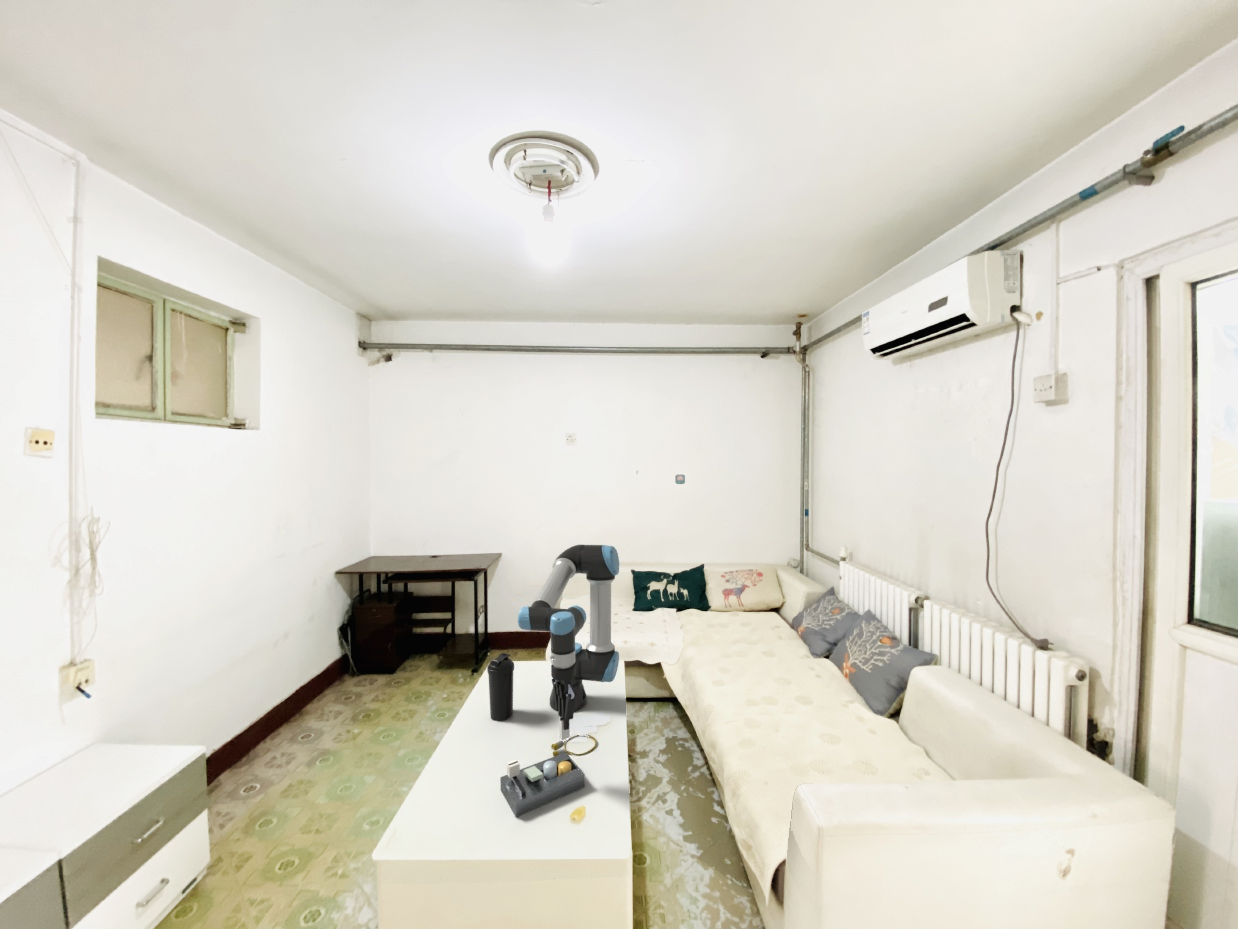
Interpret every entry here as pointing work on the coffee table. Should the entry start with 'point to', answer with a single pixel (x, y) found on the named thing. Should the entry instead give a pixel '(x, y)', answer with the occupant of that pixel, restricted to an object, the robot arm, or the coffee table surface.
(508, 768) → the fader knob
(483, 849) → the coffee table surface
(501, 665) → the water bottle
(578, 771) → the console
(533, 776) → the panel
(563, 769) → the amber button
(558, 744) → the extension cord
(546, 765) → the blue-grey button
